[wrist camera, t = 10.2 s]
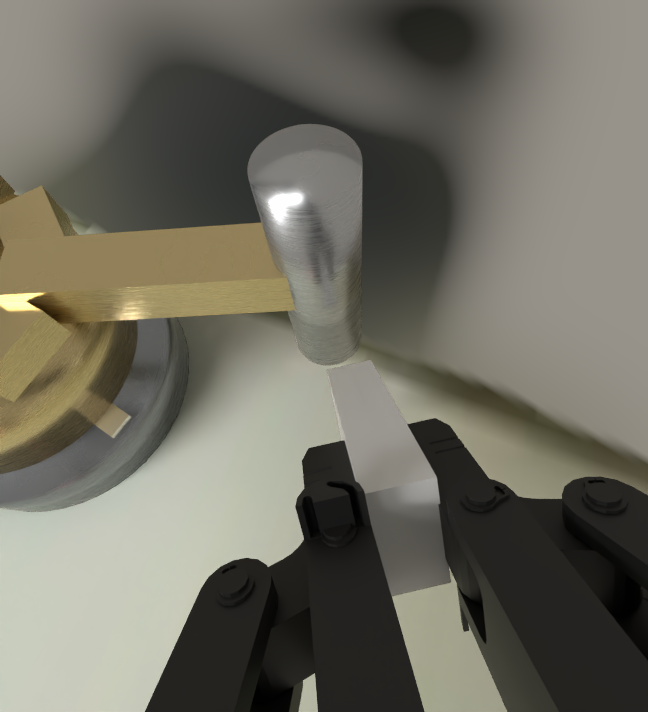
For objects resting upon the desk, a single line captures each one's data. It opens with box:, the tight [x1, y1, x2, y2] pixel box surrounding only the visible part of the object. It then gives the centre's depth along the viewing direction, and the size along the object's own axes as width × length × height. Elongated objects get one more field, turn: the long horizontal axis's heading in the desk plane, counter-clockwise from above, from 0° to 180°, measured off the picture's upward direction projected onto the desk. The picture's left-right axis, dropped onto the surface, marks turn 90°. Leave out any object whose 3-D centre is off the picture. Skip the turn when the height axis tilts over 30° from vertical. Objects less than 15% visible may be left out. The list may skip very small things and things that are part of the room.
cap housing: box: [0, 317, 189, 512], centre depth 20 cm, size 12×12×3 cm
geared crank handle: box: [0, 124, 362, 474], centre depth 14 cm, size 19×10×9 cm, turn 91°
